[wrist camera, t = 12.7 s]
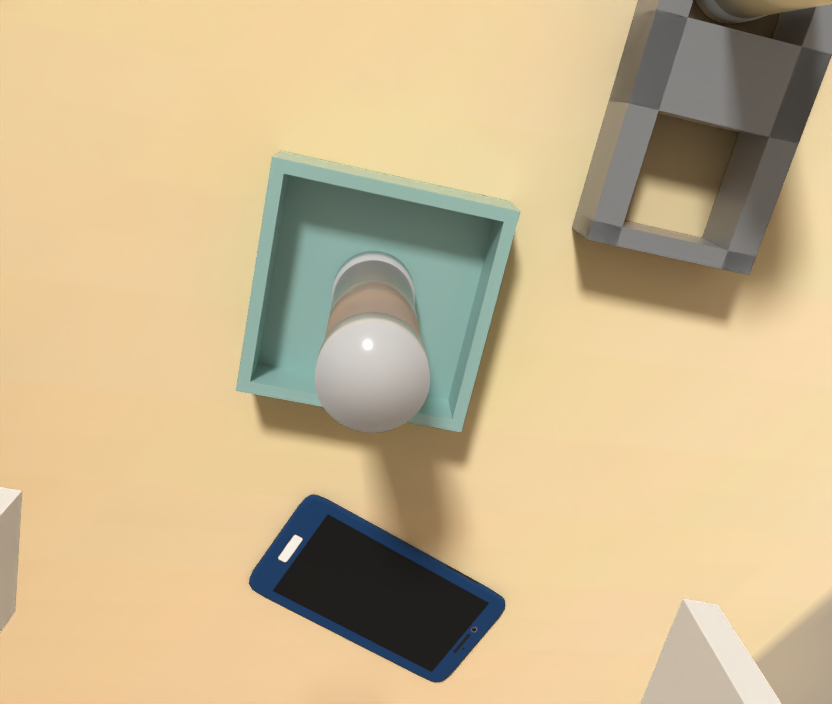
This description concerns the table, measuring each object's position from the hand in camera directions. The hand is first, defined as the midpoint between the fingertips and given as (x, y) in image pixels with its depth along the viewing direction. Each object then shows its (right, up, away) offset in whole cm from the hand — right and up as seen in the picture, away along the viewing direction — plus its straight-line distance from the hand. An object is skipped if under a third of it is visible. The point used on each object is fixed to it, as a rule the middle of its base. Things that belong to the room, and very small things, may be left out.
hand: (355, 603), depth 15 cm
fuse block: (+15, +18, +20) cm, 31 cm away
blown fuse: (-1, +8, +22) cm, 24 cm away
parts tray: (-1, +8, +23) cm, 25 cm away
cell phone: (-1, -9, +30) cm, 31 cm away
